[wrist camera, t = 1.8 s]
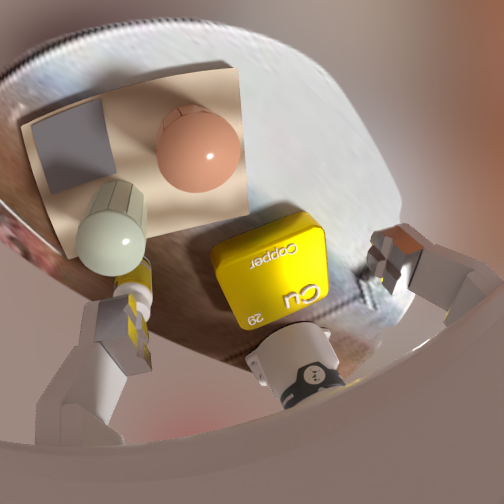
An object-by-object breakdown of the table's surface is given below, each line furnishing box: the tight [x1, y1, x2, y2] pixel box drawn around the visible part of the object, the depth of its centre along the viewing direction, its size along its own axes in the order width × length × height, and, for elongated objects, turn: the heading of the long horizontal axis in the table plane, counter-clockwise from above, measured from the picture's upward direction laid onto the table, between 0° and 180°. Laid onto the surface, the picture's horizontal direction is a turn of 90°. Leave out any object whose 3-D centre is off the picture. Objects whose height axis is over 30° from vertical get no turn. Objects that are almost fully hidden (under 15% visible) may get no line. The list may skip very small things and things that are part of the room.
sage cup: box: [75, 180, 147, 276], centre depth 24 cm, size 6×6×8 cm
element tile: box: [210, 212, 329, 330], centre depth 39 cm, size 15×15×5 cm
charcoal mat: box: [31, 99, 117, 195], centre depth 22 cm, size 8×8×1 cm
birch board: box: [21, 67, 249, 259], centre depth 26 cm, size 17×23×2 cm
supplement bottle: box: [113, 256, 153, 322], centre depth 30 cm, size 5×5×8 cm
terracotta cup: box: [156, 104, 241, 193], centre depth 23 cm, size 6×6×8 cm
